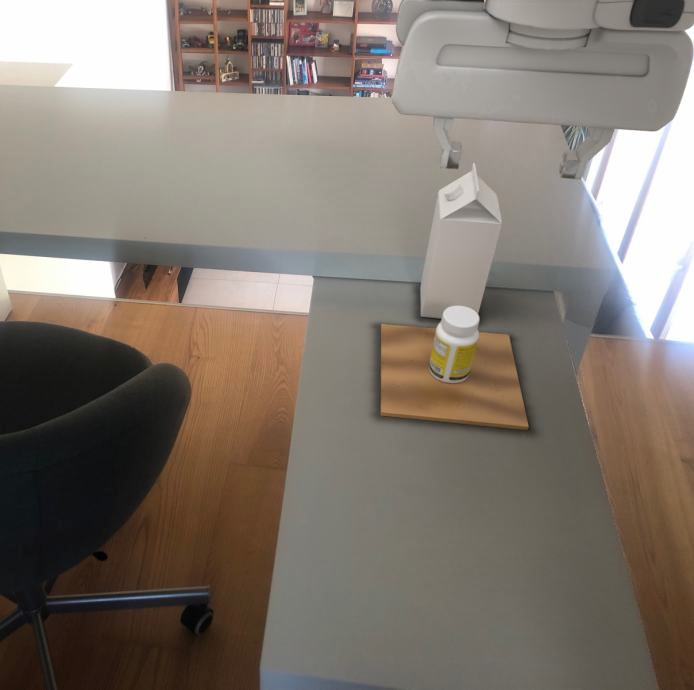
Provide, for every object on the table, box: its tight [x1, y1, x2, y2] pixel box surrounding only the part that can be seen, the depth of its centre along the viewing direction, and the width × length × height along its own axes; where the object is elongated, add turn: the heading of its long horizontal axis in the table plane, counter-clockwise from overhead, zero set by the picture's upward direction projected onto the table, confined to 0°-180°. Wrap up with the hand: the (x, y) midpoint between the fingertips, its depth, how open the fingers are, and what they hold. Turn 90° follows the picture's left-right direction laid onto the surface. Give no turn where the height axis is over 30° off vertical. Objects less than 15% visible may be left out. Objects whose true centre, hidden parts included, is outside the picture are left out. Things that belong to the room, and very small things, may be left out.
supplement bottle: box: [429, 306, 480, 383], centre depth 80 cm, size 5×5×8 cm
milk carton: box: [419, 162, 503, 319], centre depth 88 cm, size 7×7×19 cm
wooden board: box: [380, 323, 530, 431], centre depth 83 cm, size 16×16×1 cm
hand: (508, 170), depth 57 cm, fingers open, 8 cm apart
